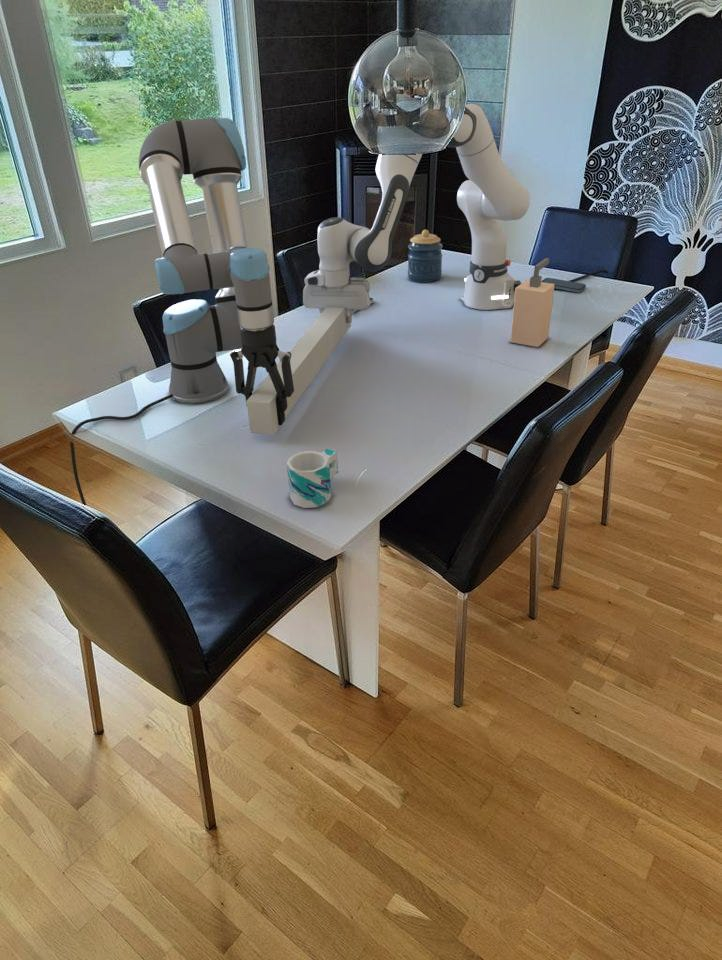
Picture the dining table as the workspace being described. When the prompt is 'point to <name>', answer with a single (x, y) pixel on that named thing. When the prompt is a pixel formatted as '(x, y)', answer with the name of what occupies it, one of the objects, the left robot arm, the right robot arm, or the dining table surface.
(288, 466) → the mug
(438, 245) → the canister
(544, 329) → the soap dispenser
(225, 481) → the dining table surface
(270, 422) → the bar
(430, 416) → the dining table surface
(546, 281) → the smartphone
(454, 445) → the dining table surface
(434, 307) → the dining table surface
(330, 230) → the right robot arm
